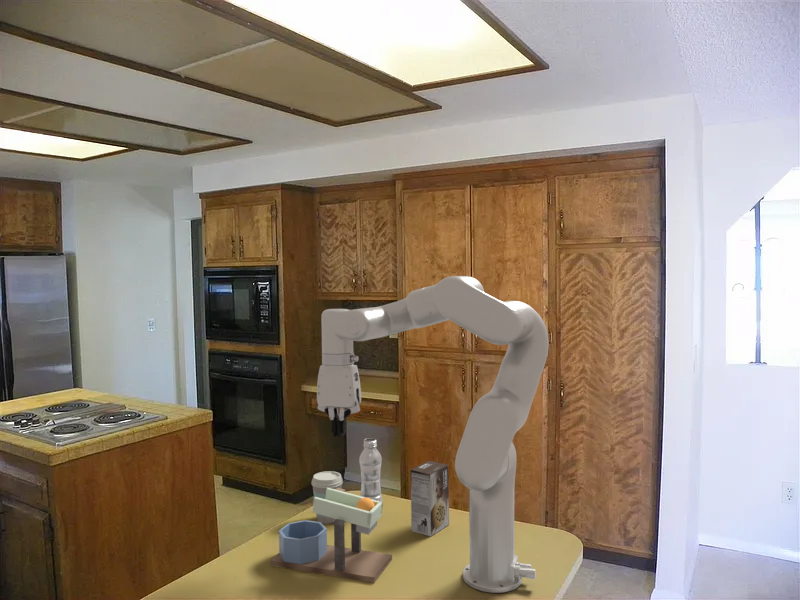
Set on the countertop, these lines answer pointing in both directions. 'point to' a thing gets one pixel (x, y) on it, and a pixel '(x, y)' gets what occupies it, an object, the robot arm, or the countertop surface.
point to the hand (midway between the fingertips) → (339, 435)
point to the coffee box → (429, 498)
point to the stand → (343, 559)
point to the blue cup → (302, 542)
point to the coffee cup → (319, 489)
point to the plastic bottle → (370, 470)
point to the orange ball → (365, 504)
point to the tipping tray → (348, 509)
